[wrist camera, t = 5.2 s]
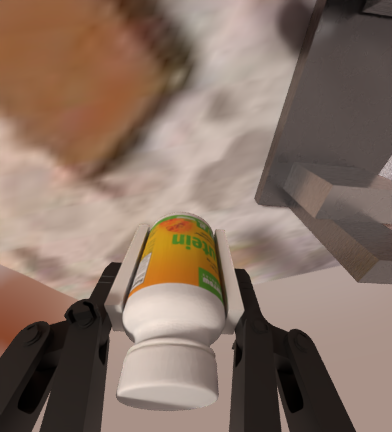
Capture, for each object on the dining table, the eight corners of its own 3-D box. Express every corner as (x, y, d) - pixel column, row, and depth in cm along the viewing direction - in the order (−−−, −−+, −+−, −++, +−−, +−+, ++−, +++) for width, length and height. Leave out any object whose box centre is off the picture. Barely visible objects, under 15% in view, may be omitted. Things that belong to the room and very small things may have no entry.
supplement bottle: (226, 227, 14) (269, 393, 6) (193, 265, 17) (193, 417, 9) (166, 198, 13) (119, 369, 5) (141, 245, 15) (81, 408, 7)
